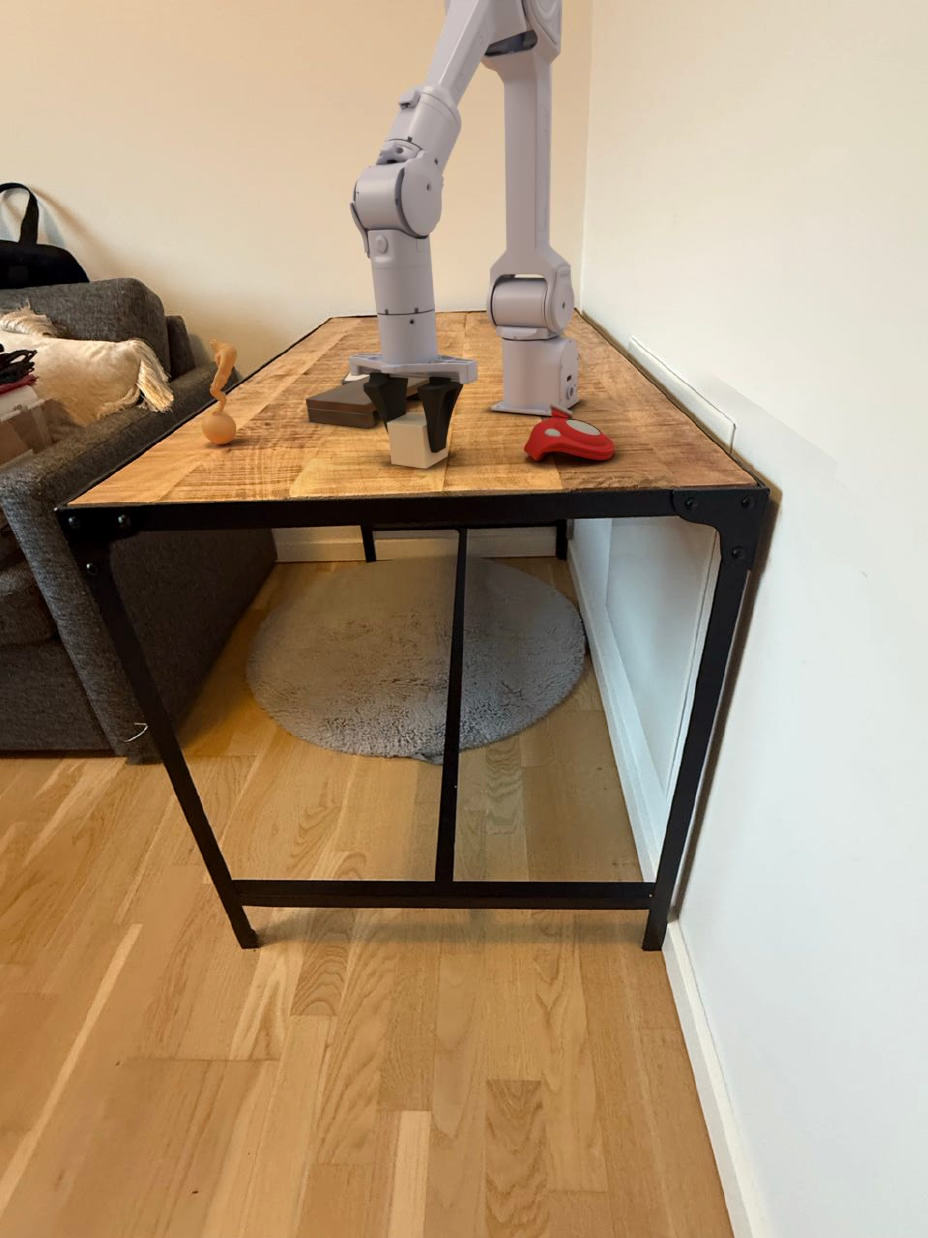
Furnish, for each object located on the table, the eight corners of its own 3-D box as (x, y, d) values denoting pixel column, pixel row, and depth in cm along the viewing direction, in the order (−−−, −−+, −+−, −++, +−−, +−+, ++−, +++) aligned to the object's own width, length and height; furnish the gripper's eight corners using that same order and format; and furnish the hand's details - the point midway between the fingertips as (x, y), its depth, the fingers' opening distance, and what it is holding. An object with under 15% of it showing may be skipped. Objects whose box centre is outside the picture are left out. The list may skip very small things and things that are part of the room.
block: (448, 456, 74) (445, 415, 72) (426, 469, 71) (422, 426, 68) (414, 451, 76) (410, 411, 74) (391, 464, 73) (386, 422, 70)
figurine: (213, 435, 86) (187, 335, 80) (260, 431, 87) (239, 331, 80) (199, 455, 79) (171, 347, 73) (251, 450, 80) (227, 343, 73)
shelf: (435, 397, 97) (434, 376, 95) (368, 428, 85) (365, 404, 83) (379, 393, 101) (377, 372, 99) (309, 421, 90) (305, 398, 88)
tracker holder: (637, 443, 70) (568, 440, 65) (620, 481, 73) (552, 481, 67) (568, 395, 78) (500, 389, 72) (554, 431, 80) (488, 428, 75)
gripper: (322, 315, 66) (343, 450, 73) (447, 318, 59) (457, 467, 67) (365, 305, 71) (381, 432, 78) (485, 307, 64) (490, 446, 72)
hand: (418, 447), depth 73 cm, fingers closed on block, 4 cm apart
